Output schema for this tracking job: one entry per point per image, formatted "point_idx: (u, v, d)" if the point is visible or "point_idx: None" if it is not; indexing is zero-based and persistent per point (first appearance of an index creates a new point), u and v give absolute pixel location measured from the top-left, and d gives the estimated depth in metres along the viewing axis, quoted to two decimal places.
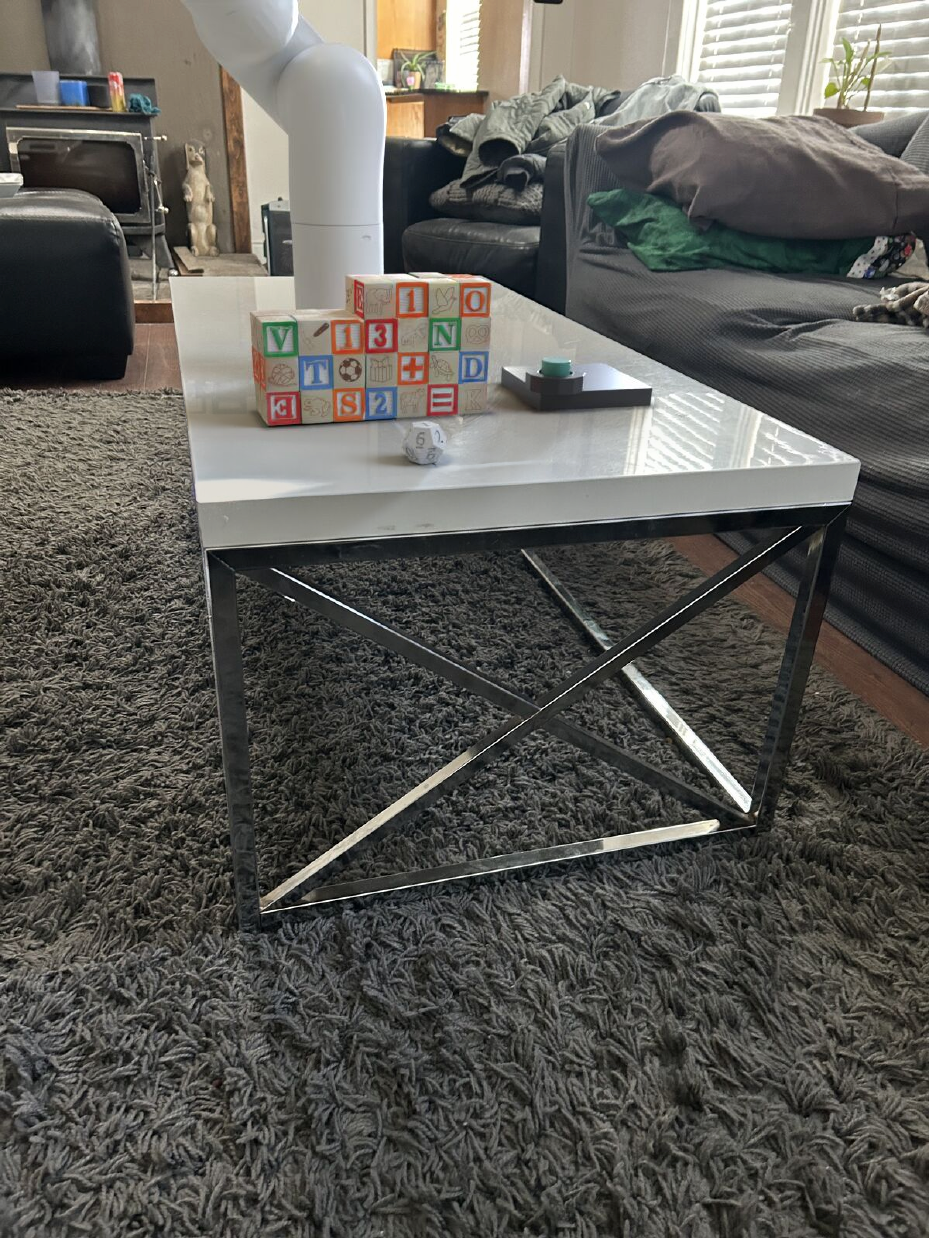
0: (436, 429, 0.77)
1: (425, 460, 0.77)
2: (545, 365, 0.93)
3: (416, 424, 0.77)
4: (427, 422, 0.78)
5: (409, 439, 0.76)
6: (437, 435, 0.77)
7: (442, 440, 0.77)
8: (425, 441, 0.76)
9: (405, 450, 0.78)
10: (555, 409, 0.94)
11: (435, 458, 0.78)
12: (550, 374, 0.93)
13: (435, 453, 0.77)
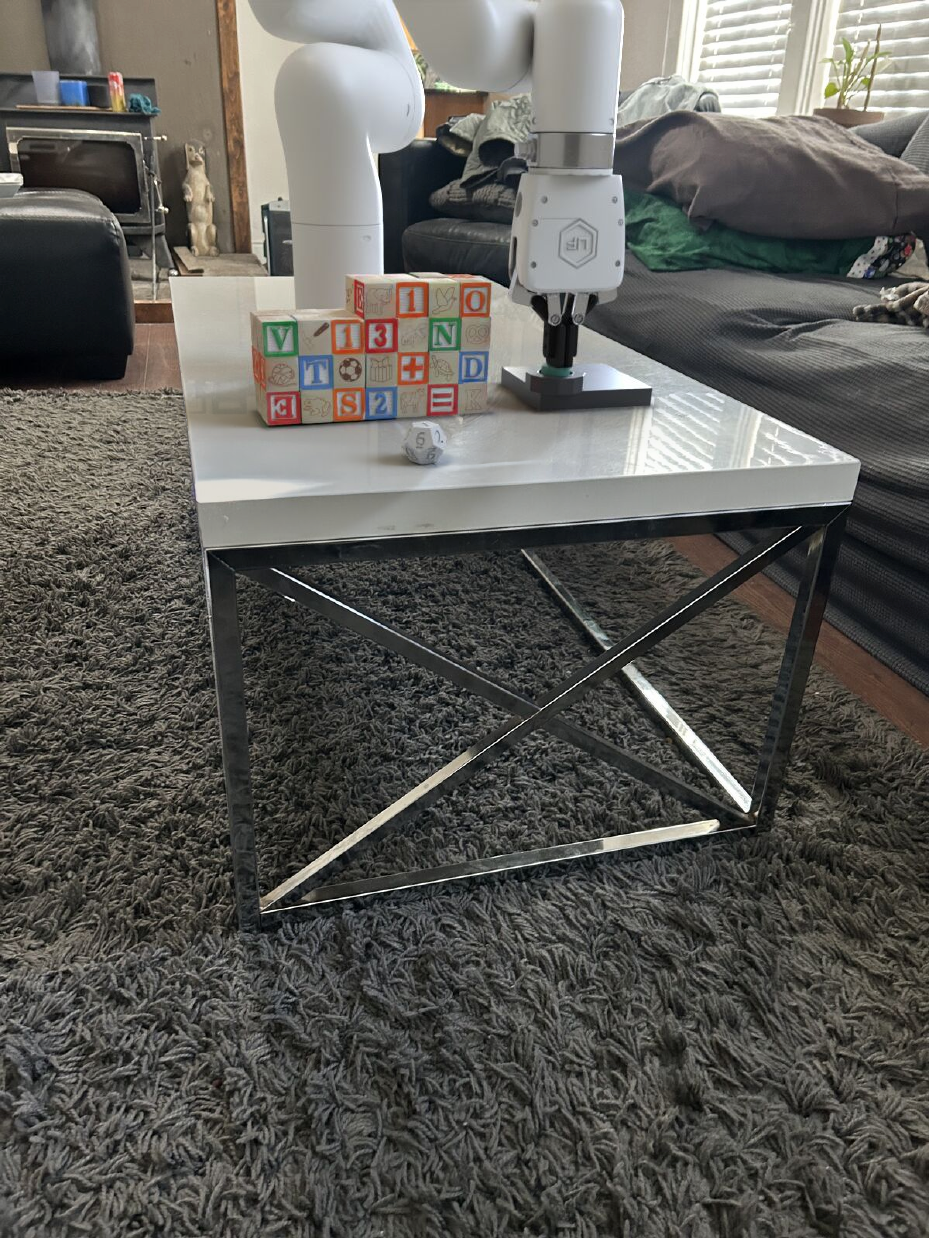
0: (436, 429, 0.77)
1: (425, 460, 0.77)
2: (545, 370, 0.93)
3: (416, 424, 0.77)
4: (427, 422, 0.78)
5: (409, 439, 0.76)
6: (437, 435, 0.77)
7: (442, 440, 0.77)
8: (425, 441, 0.76)
9: (405, 450, 0.78)
10: (555, 409, 0.94)
11: (435, 458, 0.78)
12: None
13: (435, 453, 0.77)
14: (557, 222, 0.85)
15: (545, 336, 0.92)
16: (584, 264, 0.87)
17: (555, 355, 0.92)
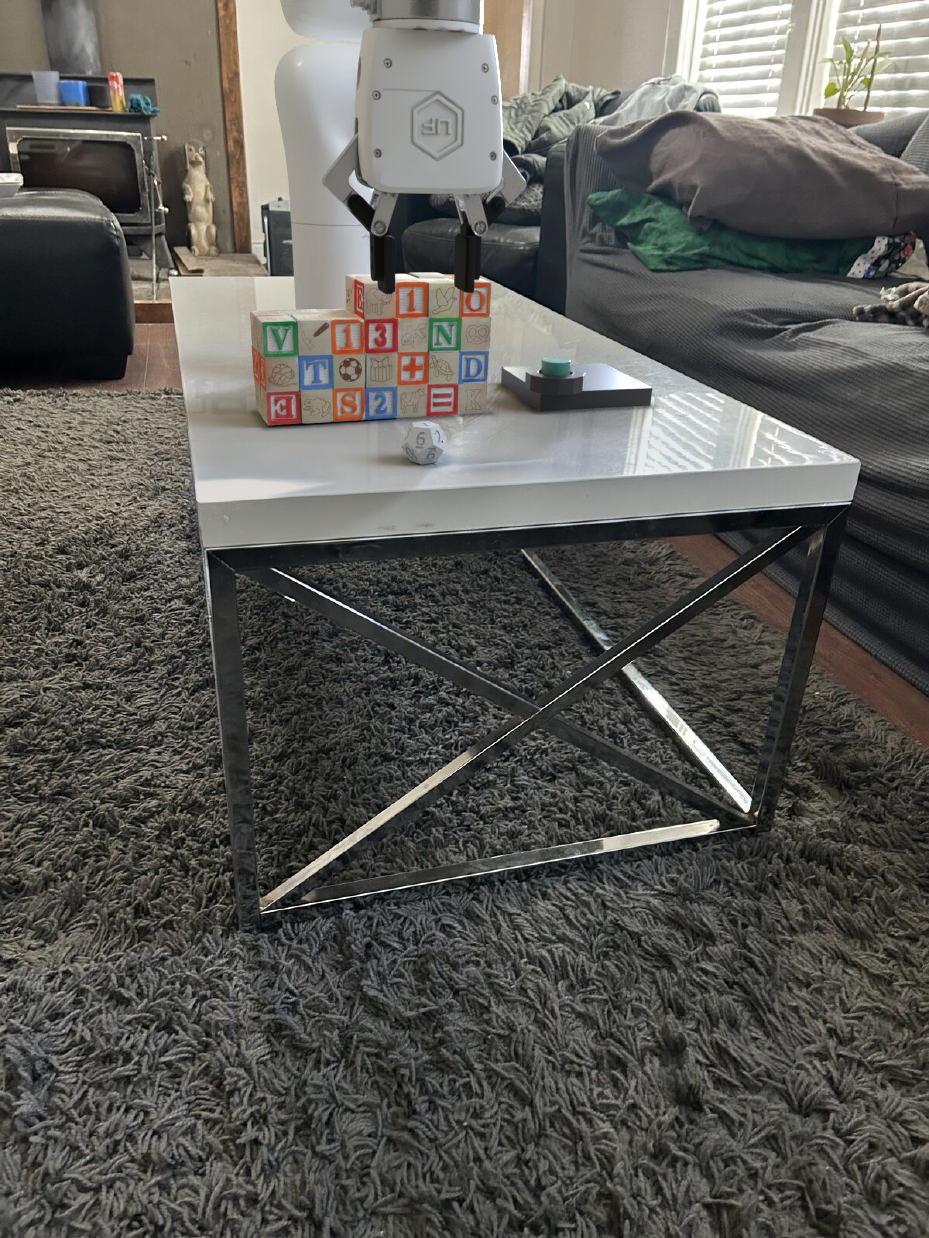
0: (436, 429, 0.77)
1: (425, 460, 0.77)
2: (545, 365, 0.93)
3: (416, 424, 0.77)
4: (427, 422, 0.78)
5: (409, 439, 0.76)
6: (437, 435, 0.77)
7: (442, 440, 0.77)
8: (425, 441, 0.76)
9: (405, 450, 0.78)
10: (555, 409, 0.94)
11: (435, 458, 0.78)
12: (550, 374, 0.93)
13: (435, 453, 0.77)
14: (407, 95, 0.64)
15: (371, 252, 0.70)
16: (447, 155, 0.66)
17: (384, 277, 0.70)
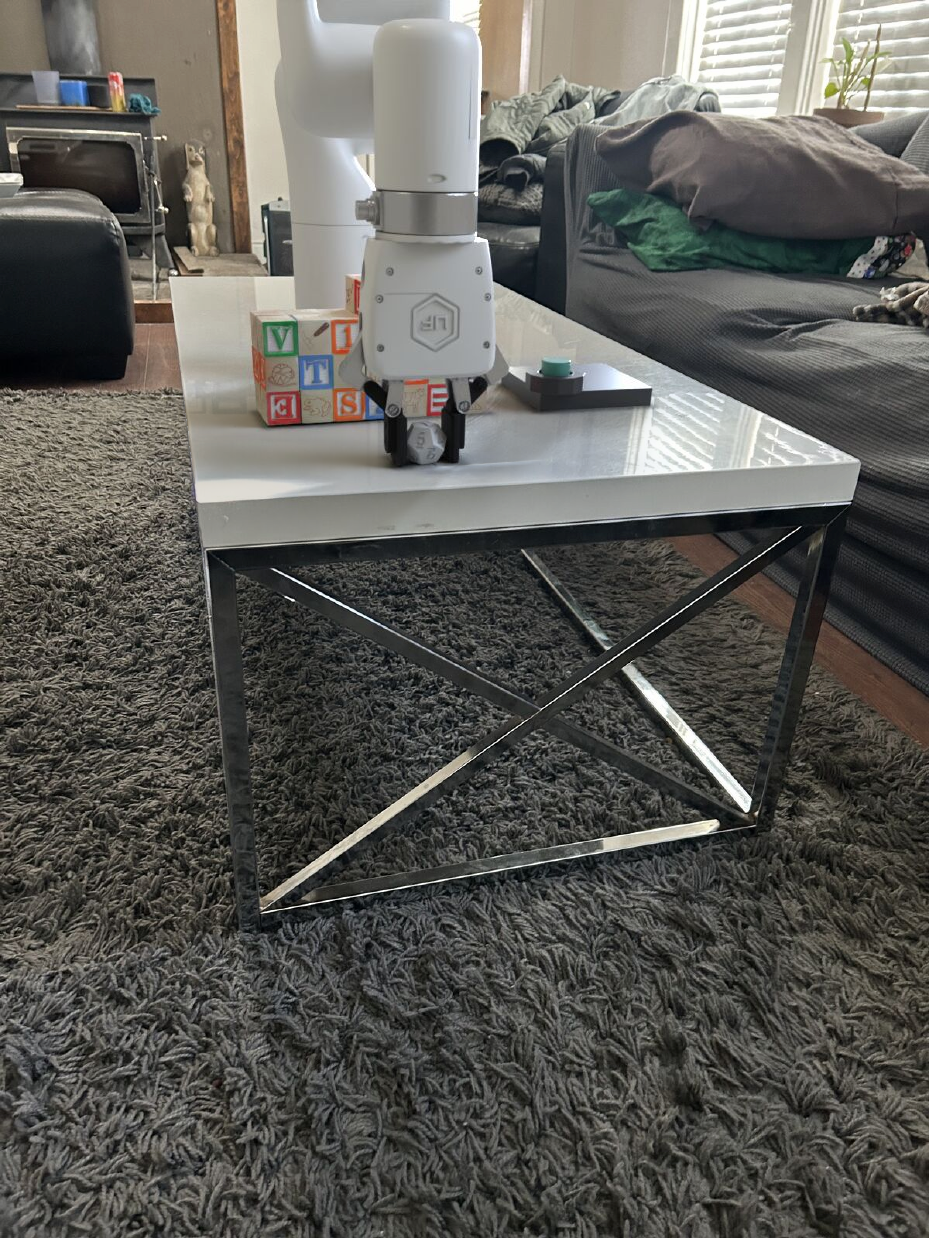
0: (436, 429, 0.77)
1: (425, 460, 0.77)
2: (545, 365, 0.93)
3: (416, 424, 0.77)
4: (427, 422, 0.78)
5: (409, 439, 0.76)
6: (437, 435, 0.77)
7: (442, 440, 0.77)
8: (424, 441, 0.76)
9: None
10: (555, 409, 0.94)
11: (435, 458, 0.78)
12: (550, 374, 0.93)
13: (435, 453, 0.77)
14: (407, 298, 0.70)
15: (385, 427, 0.76)
16: (444, 346, 0.72)
17: (397, 450, 0.76)
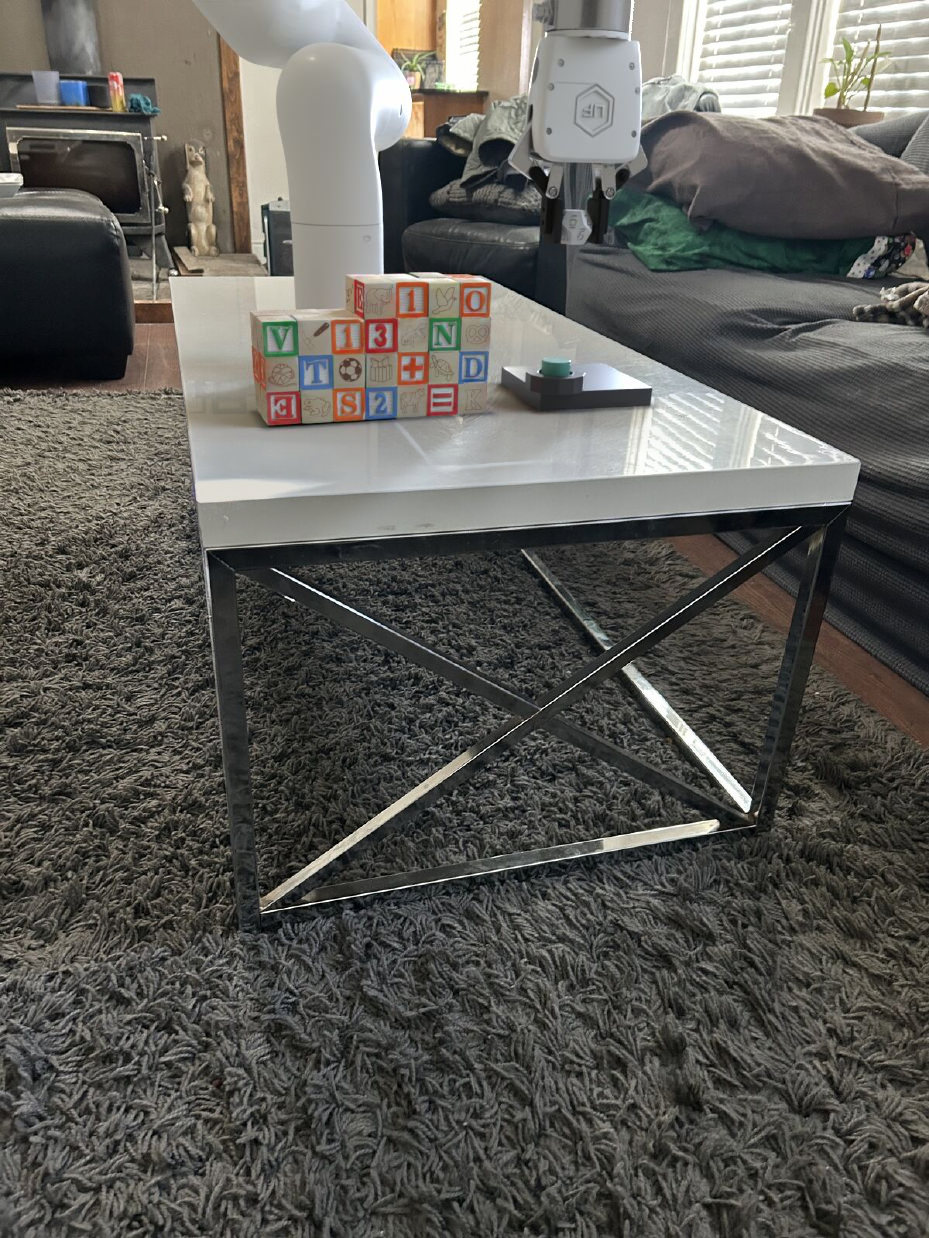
0: (585, 213, 0.91)
1: (575, 241, 0.92)
2: (545, 365, 0.93)
3: (568, 210, 0.92)
4: None
5: (563, 221, 0.91)
6: (586, 219, 0.91)
7: (589, 224, 0.92)
8: (576, 223, 0.91)
9: None
10: (555, 409, 0.94)
11: (583, 240, 0.92)
12: (550, 374, 0.93)
13: (584, 235, 0.92)
14: (573, 87, 0.84)
15: (543, 211, 0.91)
16: (600, 133, 0.87)
17: (552, 231, 0.91)
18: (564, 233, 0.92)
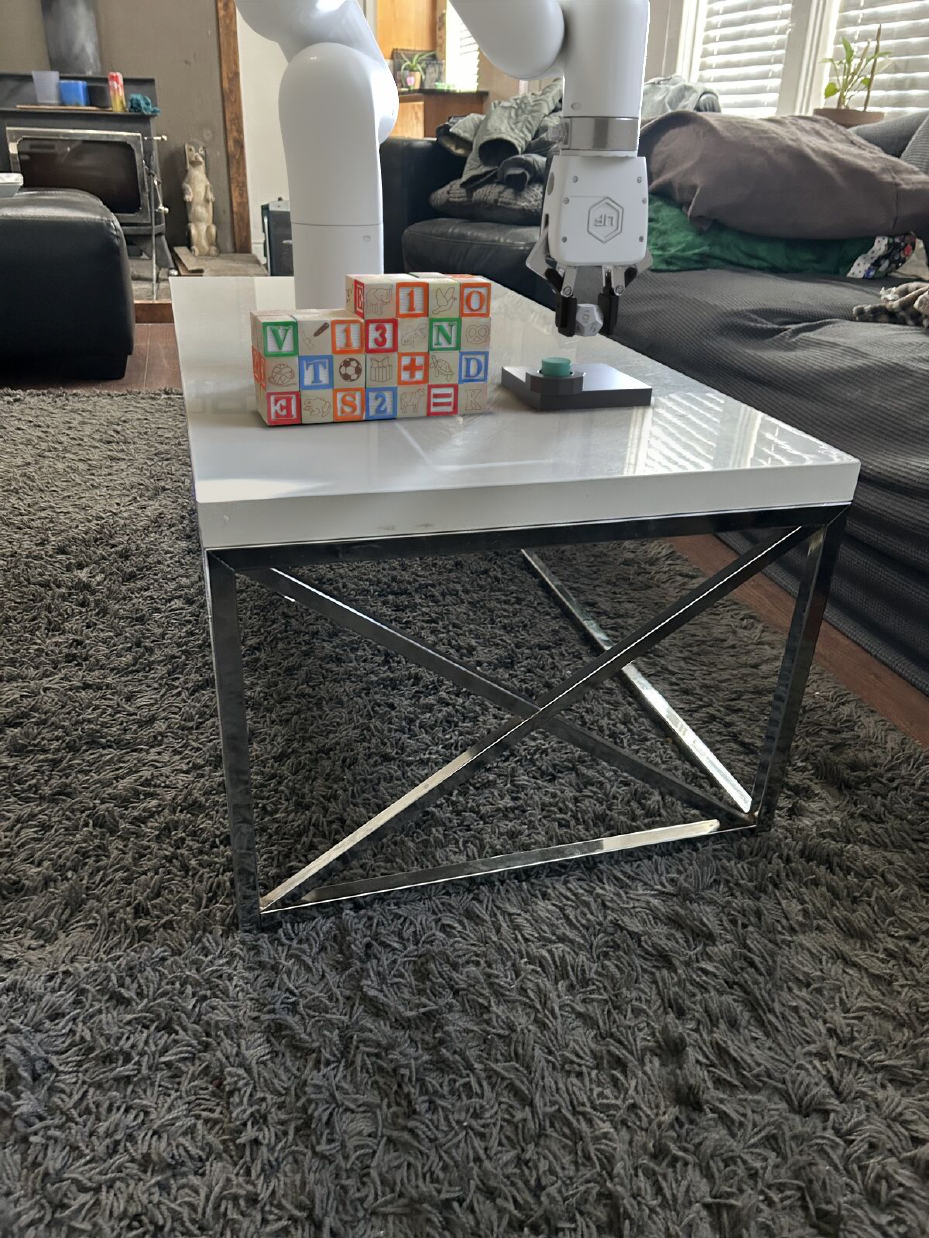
0: (597, 308, 0.99)
1: (588, 333, 1.00)
2: (545, 365, 0.93)
3: (581, 305, 0.99)
4: (588, 304, 1.00)
5: (576, 316, 0.99)
6: (597, 313, 0.99)
7: (601, 317, 1.00)
8: (589, 317, 0.99)
9: None
10: (555, 409, 0.94)
11: (595, 332, 1.00)
12: (550, 374, 0.93)
13: (596, 328, 0.99)
14: (586, 200, 0.92)
15: (557, 307, 0.99)
16: (610, 239, 0.94)
17: (567, 325, 0.99)
18: (577, 326, 0.99)
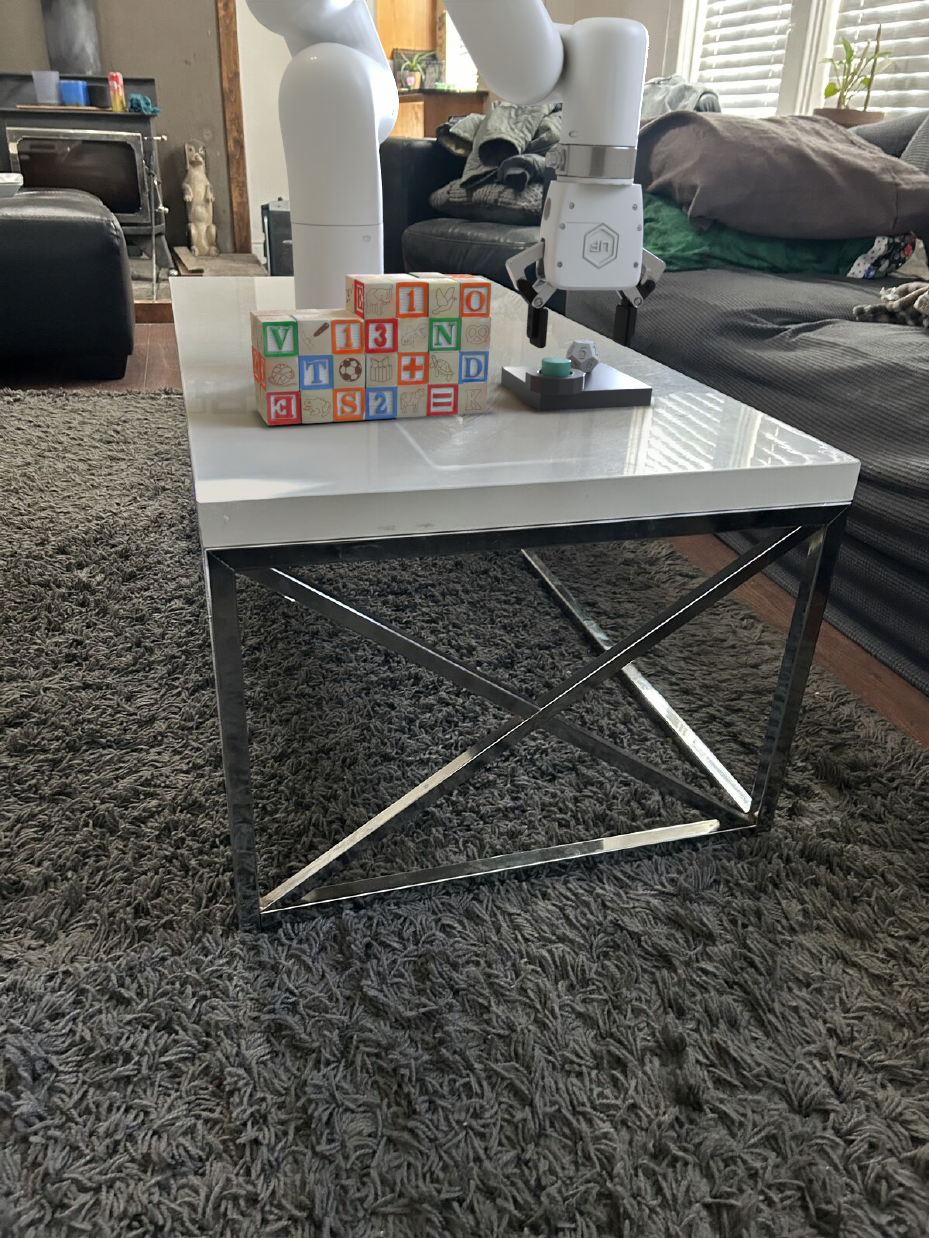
0: (593, 345, 1.01)
1: (584, 369, 1.01)
2: (545, 365, 0.93)
3: (578, 341, 1.01)
4: (585, 340, 1.02)
5: (573, 352, 1.00)
6: (594, 349, 1.01)
7: (597, 354, 1.01)
8: (585, 354, 1.00)
9: None
10: (555, 409, 0.94)
11: (591, 368, 1.01)
12: (550, 374, 0.93)
13: (592, 364, 1.01)
14: (582, 226, 0.93)
15: (529, 318, 0.99)
16: (605, 265, 0.95)
17: (538, 336, 0.99)
18: (574, 362, 1.01)
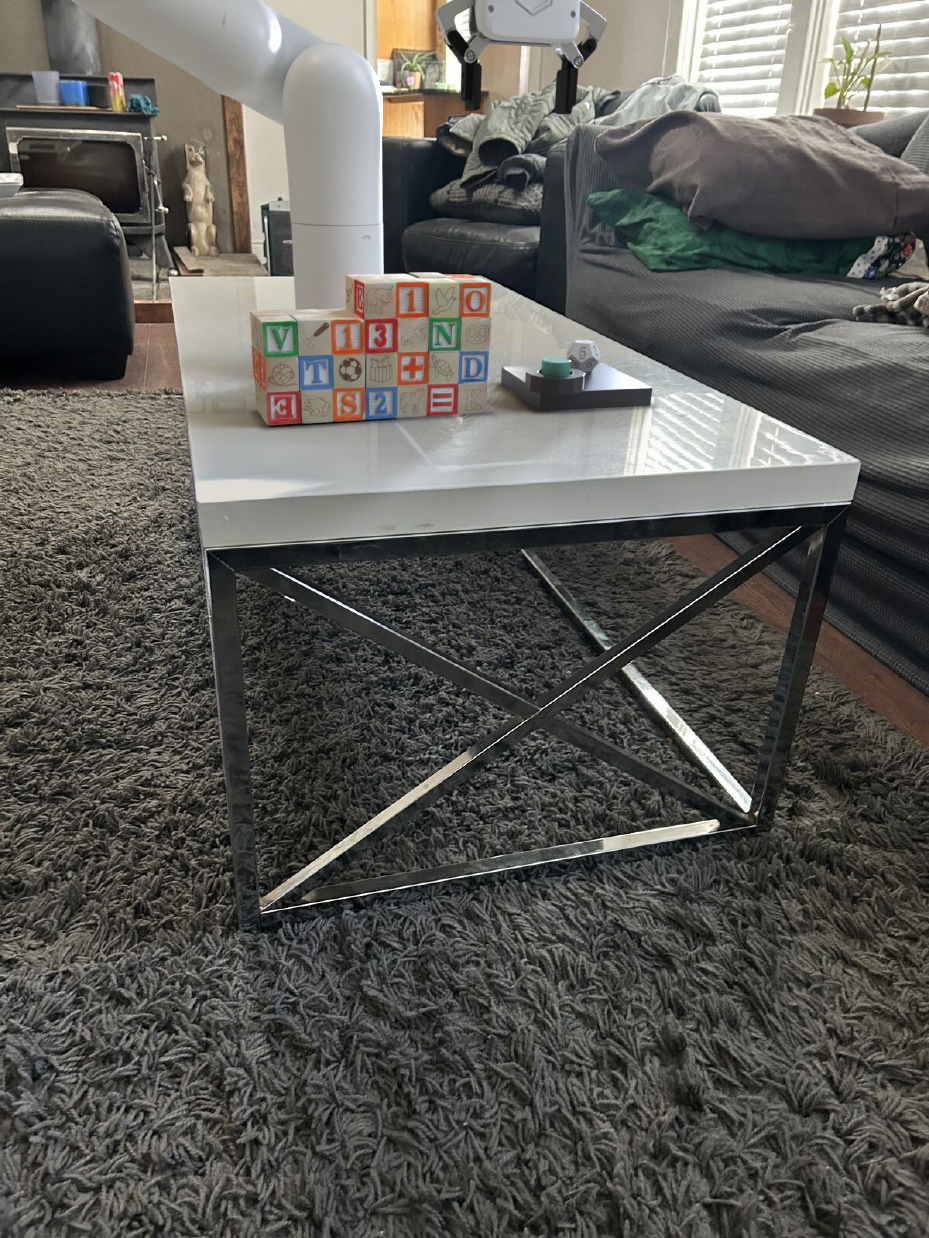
0: (593, 345, 1.01)
1: (584, 369, 1.01)
2: (545, 365, 0.93)
3: (578, 341, 1.01)
4: (585, 340, 1.02)
5: (573, 352, 1.00)
6: (594, 349, 1.01)
7: (597, 354, 1.01)
8: (585, 354, 1.00)
9: None
10: (555, 409, 0.94)
11: (591, 368, 1.01)
12: (550, 374, 0.93)
13: (592, 364, 1.01)
14: None
15: (462, 78, 0.93)
16: (540, 12, 0.90)
17: (472, 97, 0.93)
18: (574, 362, 1.01)
